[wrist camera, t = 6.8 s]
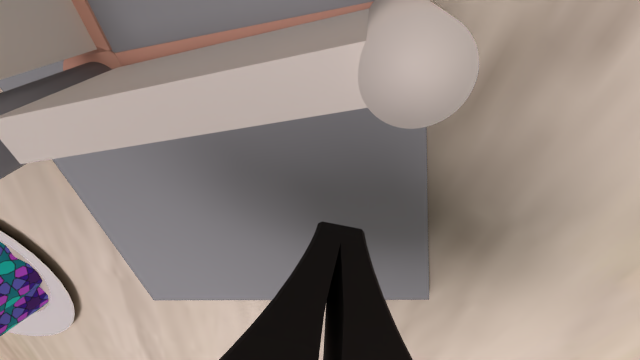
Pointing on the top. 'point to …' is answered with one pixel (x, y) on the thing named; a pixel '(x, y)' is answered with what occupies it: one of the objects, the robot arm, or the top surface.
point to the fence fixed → (40, 54)
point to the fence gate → (263, 83)
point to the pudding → (30, 295)
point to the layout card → (244, 168)
